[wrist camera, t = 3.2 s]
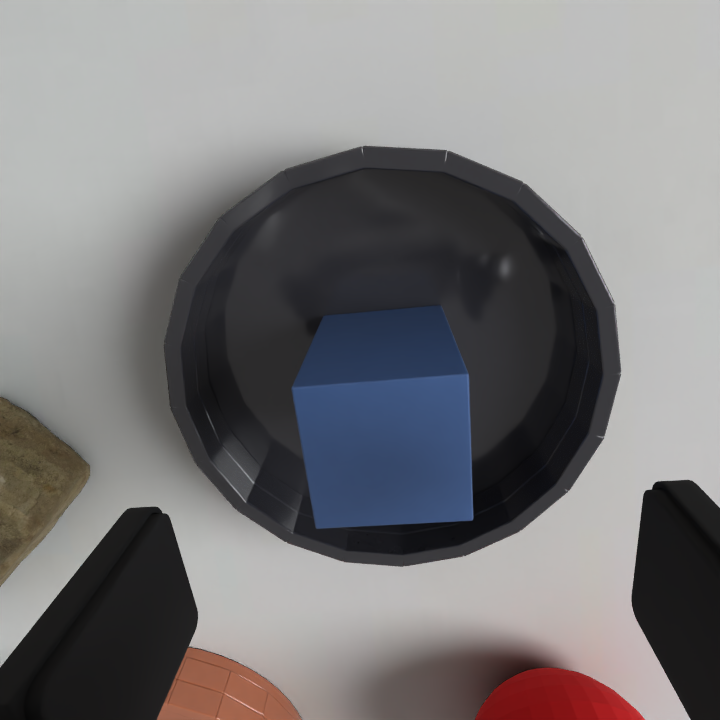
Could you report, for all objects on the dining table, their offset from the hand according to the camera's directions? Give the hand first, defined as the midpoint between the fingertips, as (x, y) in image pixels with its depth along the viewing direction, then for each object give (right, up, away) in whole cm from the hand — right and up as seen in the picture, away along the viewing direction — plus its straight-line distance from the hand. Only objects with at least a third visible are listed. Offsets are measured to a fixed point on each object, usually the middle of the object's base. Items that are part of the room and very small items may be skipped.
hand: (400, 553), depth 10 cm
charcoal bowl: (0, +4, +10) cm, 10 cm away
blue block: (0, +4, +9) cm, 10 cm away
